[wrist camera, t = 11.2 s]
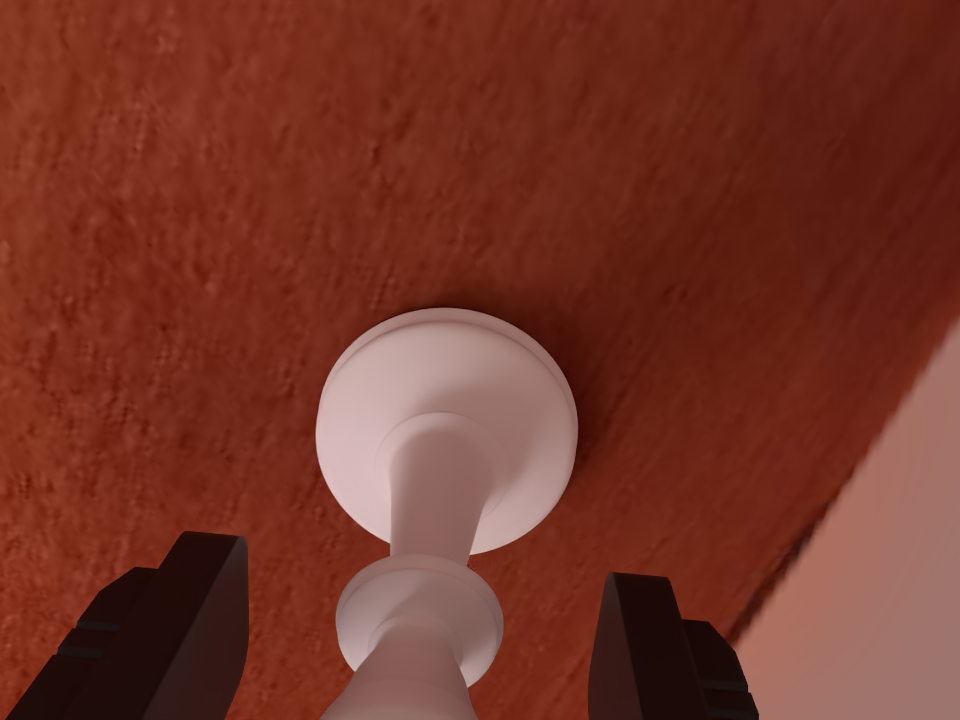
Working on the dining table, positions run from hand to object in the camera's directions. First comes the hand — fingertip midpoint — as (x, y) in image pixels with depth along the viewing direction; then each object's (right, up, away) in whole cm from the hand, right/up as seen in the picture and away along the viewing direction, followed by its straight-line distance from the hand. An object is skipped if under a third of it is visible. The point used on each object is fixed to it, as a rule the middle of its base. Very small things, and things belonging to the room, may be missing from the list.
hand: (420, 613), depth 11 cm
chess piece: (0, +2, +5) cm, 6 cm away
